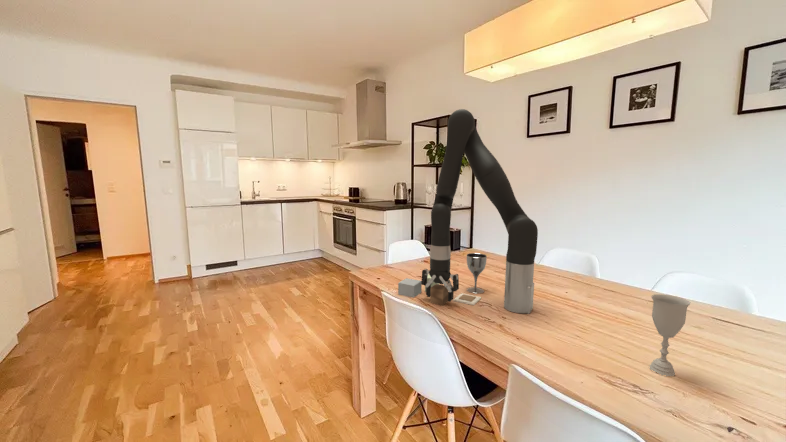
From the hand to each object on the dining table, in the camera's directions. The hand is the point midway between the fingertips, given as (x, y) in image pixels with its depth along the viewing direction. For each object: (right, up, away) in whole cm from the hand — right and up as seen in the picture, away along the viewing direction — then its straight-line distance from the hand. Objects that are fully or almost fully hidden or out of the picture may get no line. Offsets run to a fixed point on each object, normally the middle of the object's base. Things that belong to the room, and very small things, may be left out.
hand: (439, 298), depth 121 cm
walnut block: (0, -1, 0) cm, 1 cm away
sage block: (-1, 0, +13) cm, 13 cm away
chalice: (+48, -7, -43) cm, 65 cm away
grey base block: (-11, 0, +9) cm, 14 cm away
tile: (+11, -1, +2) cm, 11 cm away
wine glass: (+17, 0, +13) cm, 21 cm away
